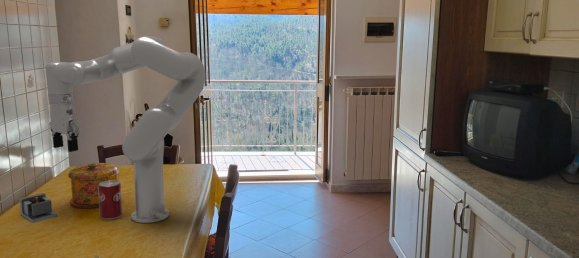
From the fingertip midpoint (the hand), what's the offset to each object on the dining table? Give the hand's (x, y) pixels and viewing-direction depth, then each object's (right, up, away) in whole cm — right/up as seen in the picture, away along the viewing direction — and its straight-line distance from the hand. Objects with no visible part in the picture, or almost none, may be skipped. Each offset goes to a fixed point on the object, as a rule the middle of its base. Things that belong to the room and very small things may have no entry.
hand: (65, 149), depth 155 cm
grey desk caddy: (-10, -23, +2) cm, 25 cm away
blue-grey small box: (-10, -22, +1) cm, 24 cm away
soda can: (+14, -24, +3) cm, 28 cm away
